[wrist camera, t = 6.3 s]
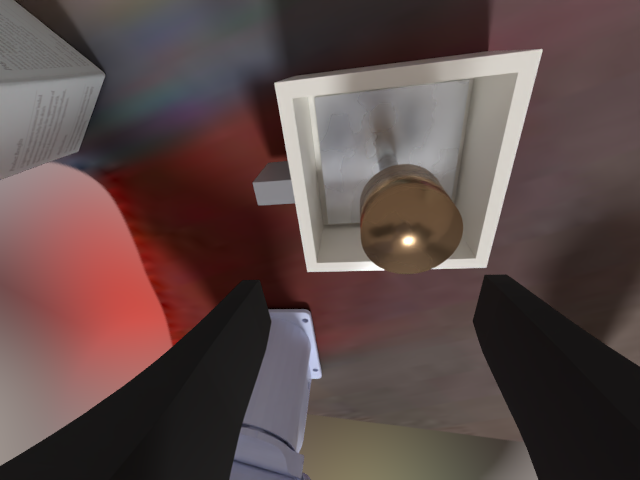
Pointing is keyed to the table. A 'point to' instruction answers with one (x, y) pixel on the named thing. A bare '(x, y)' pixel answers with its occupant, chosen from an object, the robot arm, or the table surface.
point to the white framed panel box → (472, 165)
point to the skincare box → (40, 92)
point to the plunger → (395, 170)
